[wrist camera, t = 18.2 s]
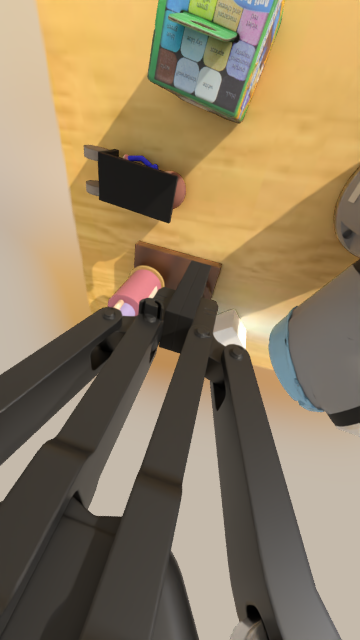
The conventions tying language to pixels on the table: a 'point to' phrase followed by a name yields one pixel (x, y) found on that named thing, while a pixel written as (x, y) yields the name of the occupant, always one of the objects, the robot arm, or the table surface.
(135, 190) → the figurine character
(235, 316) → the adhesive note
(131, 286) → the doll
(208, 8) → the chalk box
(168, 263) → the brown wooden base
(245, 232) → the table surface
